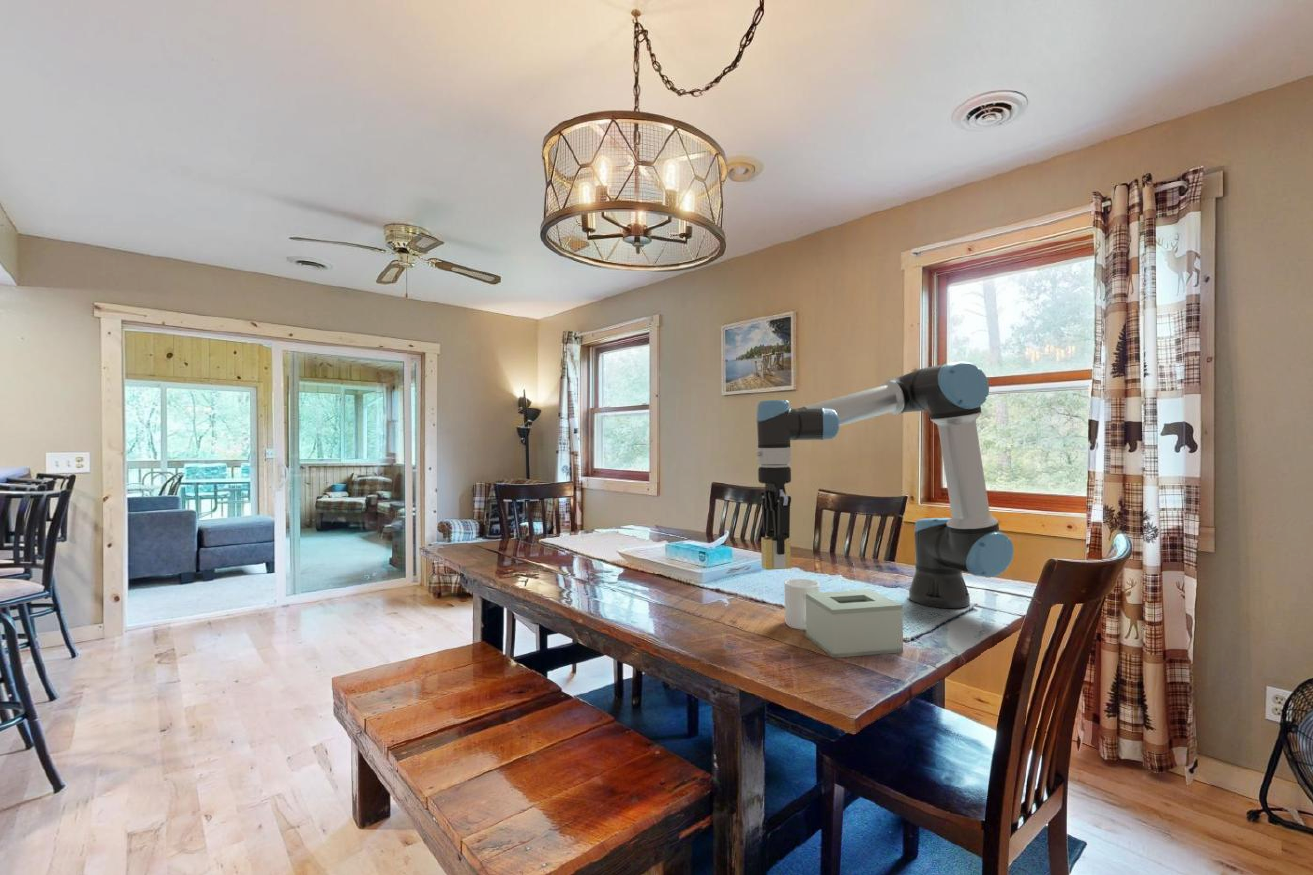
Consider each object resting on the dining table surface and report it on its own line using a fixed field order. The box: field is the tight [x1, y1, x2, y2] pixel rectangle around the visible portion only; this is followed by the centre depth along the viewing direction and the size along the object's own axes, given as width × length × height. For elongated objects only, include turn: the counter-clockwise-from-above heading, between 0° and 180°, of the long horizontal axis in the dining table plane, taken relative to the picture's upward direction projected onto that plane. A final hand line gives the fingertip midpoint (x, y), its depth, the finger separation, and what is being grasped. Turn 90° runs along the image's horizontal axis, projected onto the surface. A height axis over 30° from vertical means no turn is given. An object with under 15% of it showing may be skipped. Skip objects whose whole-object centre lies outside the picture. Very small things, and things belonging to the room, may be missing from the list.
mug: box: [784, 578, 820, 631], centre depth 137 cm, size 12×8×10 cm
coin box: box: [805, 588, 904, 659], centre depth 126 cm, size 16×13×10 cm
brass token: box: [760, 536, 792, 571], centre depth 133 cm, size 6×3×7 cm, turn 100°
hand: (776, 565), depth 133 cm, fingers closed on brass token, 3 cm apart
